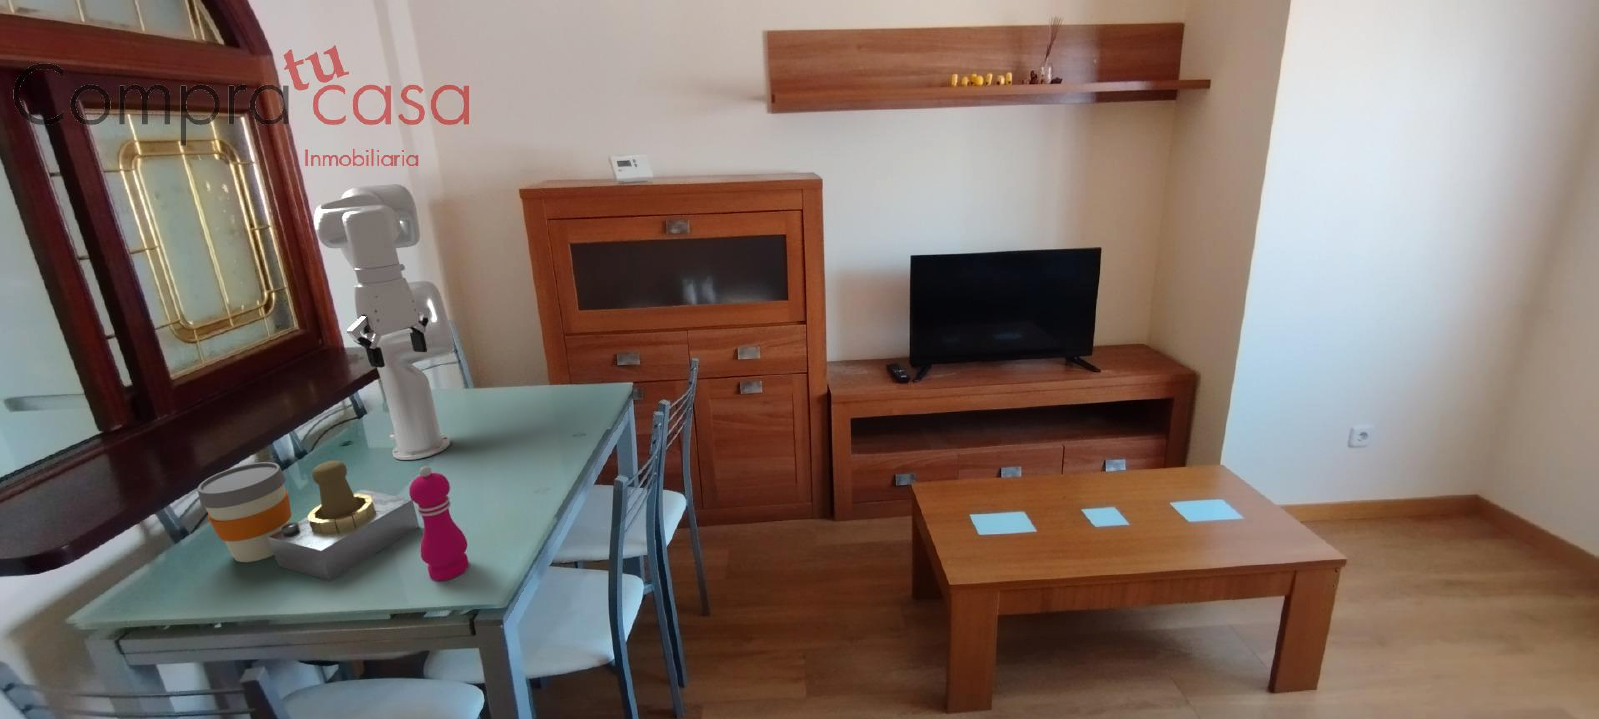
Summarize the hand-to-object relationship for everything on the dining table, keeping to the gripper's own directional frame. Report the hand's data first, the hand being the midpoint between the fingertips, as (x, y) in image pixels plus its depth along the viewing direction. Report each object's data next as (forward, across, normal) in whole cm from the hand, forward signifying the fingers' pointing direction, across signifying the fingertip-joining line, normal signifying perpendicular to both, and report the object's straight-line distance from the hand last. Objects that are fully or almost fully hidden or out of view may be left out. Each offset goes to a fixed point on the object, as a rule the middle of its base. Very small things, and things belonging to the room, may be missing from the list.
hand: (400, 358), depth 139 cm
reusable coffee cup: (+31, +26, -14) cm, 42 cm away
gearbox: (+30, +20, +2) cm, 36 cm away
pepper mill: (+31, +20, +27) cm, 45 cm away
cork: (+24, +20, +2) cm, 32 cm away
